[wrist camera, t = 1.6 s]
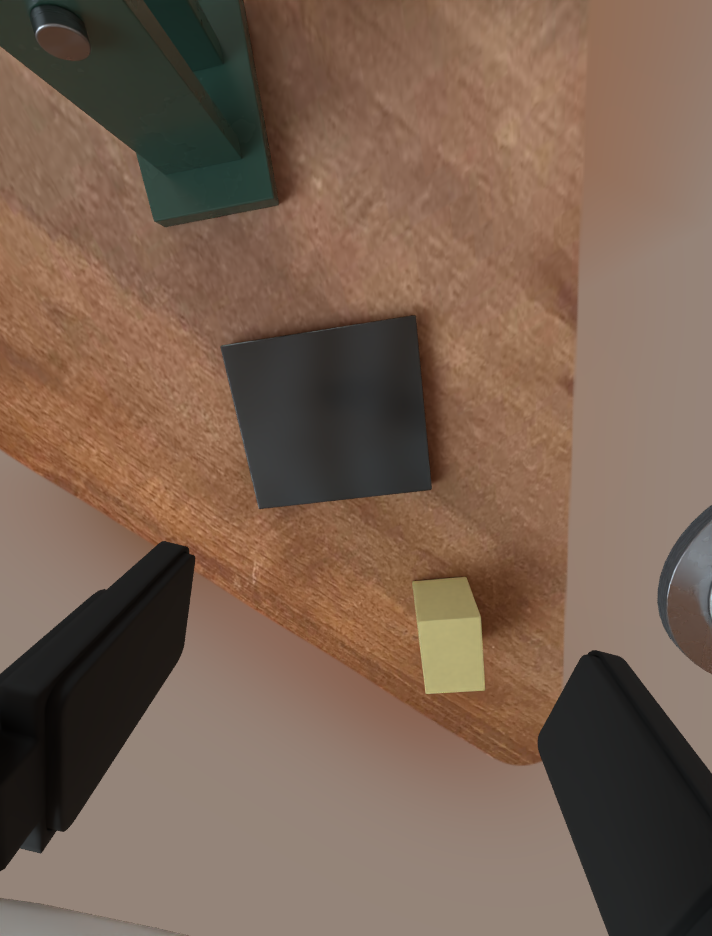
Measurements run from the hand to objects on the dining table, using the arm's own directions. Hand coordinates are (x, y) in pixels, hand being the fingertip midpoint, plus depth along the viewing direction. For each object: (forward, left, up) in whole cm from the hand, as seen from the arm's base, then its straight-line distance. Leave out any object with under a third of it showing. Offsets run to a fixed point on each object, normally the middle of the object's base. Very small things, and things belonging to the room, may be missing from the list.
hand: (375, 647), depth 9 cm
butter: (-3, +13, -18) cm, 23 cm away
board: (+3, -3, -18) cm, 18 cm away
